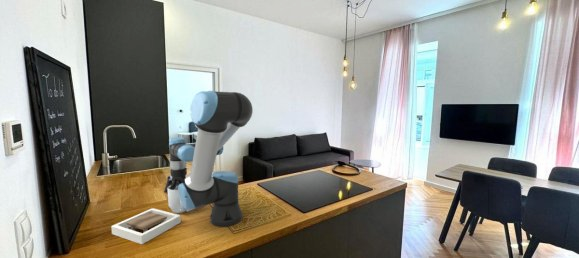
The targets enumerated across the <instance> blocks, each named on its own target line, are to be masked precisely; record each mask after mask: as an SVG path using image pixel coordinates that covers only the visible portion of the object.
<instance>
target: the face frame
mask: <svg viewBox="0 0 579 258" xmlns="http://www.w3.org/2000/svg"><path fill="white" fill-rule="evenodd" d="M149 212H152V213H156V214H160V215H163V216H167V219H165V220H164V222H163V223H161V224H160V223H158V225H157V224H156V226H154V227H151V228H150V229H149V230H148V229H147V230H148V231H146V232H144V233H142V232H139V231H136V230H135V231H133V230H131V226H129V225H127V222H129V221H132V220H134V219H136V218H138V217H141V216H143V215H145V214H147V213H149ZM181 221H182V220H181V215H180V214H178V213H174V212H173V213H172V212H168V211H165V210H162V209H157V208H154V207H151V208H150V209H147V210H145V211H143V212H140V213H139V214H138V213H137V214H135V215H134V216H132V217H130V218H127V219H124V220H123V221H120V222H117V223H115V224H113V225H111V226H110V227H111V235H114V236H117V237H120V238H122V239H126V240H128V241H132V242H134V243H136V244H140V245H144V244H146V243H147V242H149V241H151V240H152V239H154V238H156V237H158V236H159V235H161V234H164V232H166V231H168V230H170V229H172V228H174V227H175V226H177V225H179V224H180V223H182V222H181Z"/></svg>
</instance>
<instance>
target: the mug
mask: <svg viewBox="0 0 579 258" xmlns="http://www.w3.org/2000/svg"><path fill="white" fill-rule="evenodd" d="M170 187H171V186H169V187H168V188H167V190H168V195H167V201H168V202H169V203H168V207H169V206H170V207H169V208H170V210H171V211H172V212H173V214H182V213H184V212H185V213H186V212H187V210H186V209H185V208H184V207H183V205H182V203H181V201H180V197H179V193H178V186H176V187H175V189H174V190H170Z"/></svg>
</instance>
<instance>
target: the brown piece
mask: <svg viewBox="0 0 579 258" xmlns="http://www.w3.org/2000/svg"><path fill="white" fill-rule="evenodd" d="M165 219H167V216H163V215H160V214H156V213H152V212H149V213H147V214H145V215H143V216H141V217H138V218H136V219H134V220H132V221H129V222H127V225H129V226H131V227H130V230H133V231H136V229H139V230H142V232H143V233H144V232H146V231H148V229H149V228H152V227H153V226H155V225H157V224H161V223H163V222H165V221H166V220H165Z"/></svg>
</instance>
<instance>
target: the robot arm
mask: <svg viewBox="0 0 579 258" xmlns="http://www.w3.org/2000/svg"><path fill="white" fill-rule="evenodd" d="M189 110H190V118H191V121H192V122H193V124H194V126H195V127H196V128H197V134H196V139H195V143H188V144H187V142H186V138H185V137H172V138H170V139H168V142H169V143H168V148H169V150H168V151H169V169H170V170H169V171H170V175H169V176H167V179H166V180H167V181H166V183H165V187H164V191H163V192H164V194H166V195H167V196H168V189H167V188H168V187H169V186H171V187H170V190H174V189H175V187H176V186H178V193H179V197H180V201H181V203H182V205H183V207H184V208H185V209H186V212H188V213H189V212H191V211H192V210H195V209H199V208H201V207H204V206H208V205H211V204H213V205H212V209H211V212H210V216H209V222H210V224H211V225H212V226H215V227H230V226H233V225H236V224H238V223H240V221H242V219H243V212H242V209H241V206H240V202H239V177H238V174H237V173H235V172H234V171H229V170H228V171H227V170H218V171H214V168H215V167H214V166H215V163H216V159H217V156H220V155H222V154H223V153H224V152H223V151H224V146H225V144H226V143H227V142H229V140H230V139H231V138H232V137H233V135H235V133H236V132H237V131H238V130H239V129H240V128H243V127H245V126H246V125H247V124H248V123H249V122H250V120H251V118H252V116H253V113H254V112H253V105H252V102H251V100H250V99H249V98H248V97H247V96H246V95H245V94H243V93H241V92H236V91H235V92H234V91H232V92H231V91H214V90H208V91H205V90H203V91H199V92H197V93H196V94H195V95H194V96H193V98H192V101H191V104H190V109H189ZM187 162H188V163H189V162H191V168H190V172H189V174H188V171H187V169H188V168H187ZM168 204H169V202H168ZM168 208H170V206H169V205H168Z"/></svg>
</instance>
